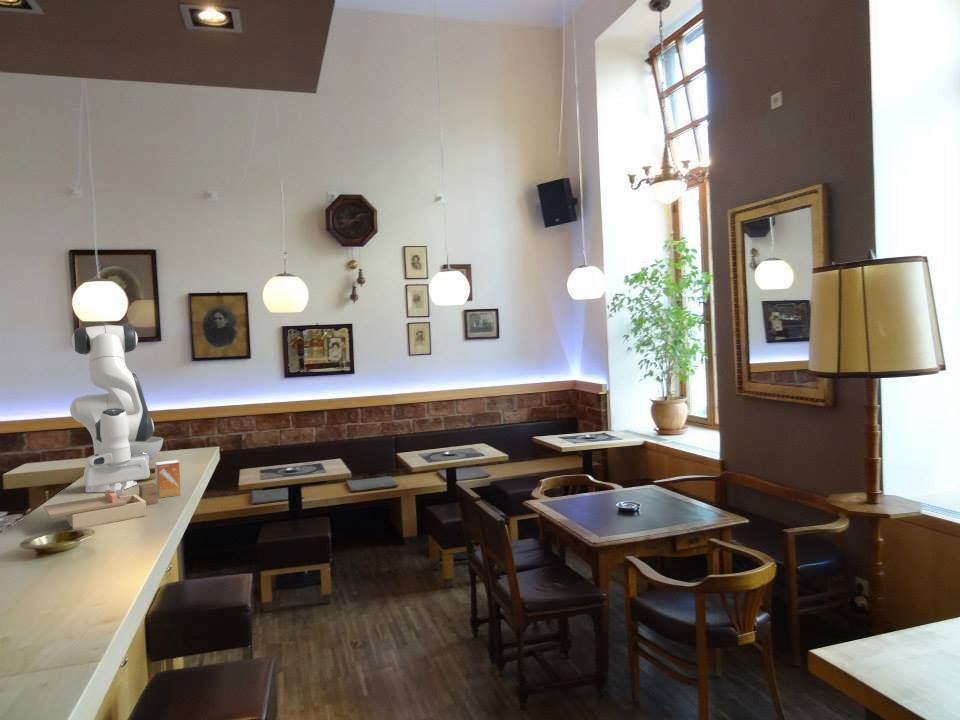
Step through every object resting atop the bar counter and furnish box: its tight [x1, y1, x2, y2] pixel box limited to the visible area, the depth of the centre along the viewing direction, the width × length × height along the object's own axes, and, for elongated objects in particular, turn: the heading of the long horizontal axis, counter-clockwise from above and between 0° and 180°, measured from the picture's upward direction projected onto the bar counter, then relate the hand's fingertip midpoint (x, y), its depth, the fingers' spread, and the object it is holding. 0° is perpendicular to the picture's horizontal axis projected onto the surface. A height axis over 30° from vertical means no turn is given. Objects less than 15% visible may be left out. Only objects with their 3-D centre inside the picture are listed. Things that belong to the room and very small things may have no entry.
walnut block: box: [138, 482, 159, 506], centre depth 250 cm, size 5×5×7 cm
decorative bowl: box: [129, 436, 164, 463], centre depth 323 cm, size 27×27×12 cm
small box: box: [154, 459, 182, 499], centre depth 262 cm, size 8×6×13 cm
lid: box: [43, 489, 126, 518], centre depth 228 cm, size 15×22×3 cm
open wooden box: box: [65, 493, 148, 530], centre depth 232 cm, size 15×22×5 cm
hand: (118, 495), depth 234 cm, fingers closed
